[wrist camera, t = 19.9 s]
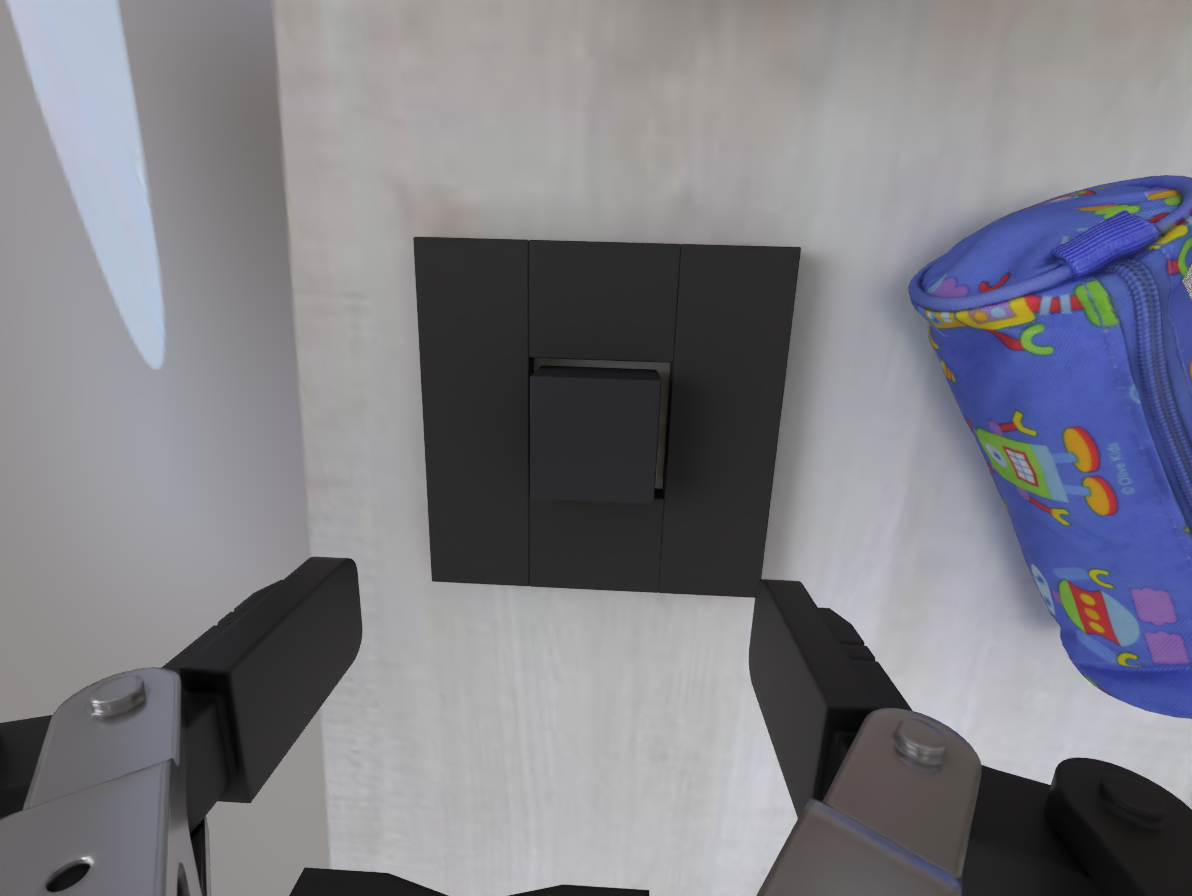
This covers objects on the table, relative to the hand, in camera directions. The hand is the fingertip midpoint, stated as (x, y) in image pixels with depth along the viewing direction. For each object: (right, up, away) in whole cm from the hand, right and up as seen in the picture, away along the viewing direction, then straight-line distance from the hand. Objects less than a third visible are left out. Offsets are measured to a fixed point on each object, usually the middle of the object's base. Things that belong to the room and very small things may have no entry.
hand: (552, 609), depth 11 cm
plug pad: (+1, +4, +16) cm, 17 cm away
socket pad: (+1, +4, +16) cm, 17 cm away
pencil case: (+22, +4, +16) cm, 27 cm away
